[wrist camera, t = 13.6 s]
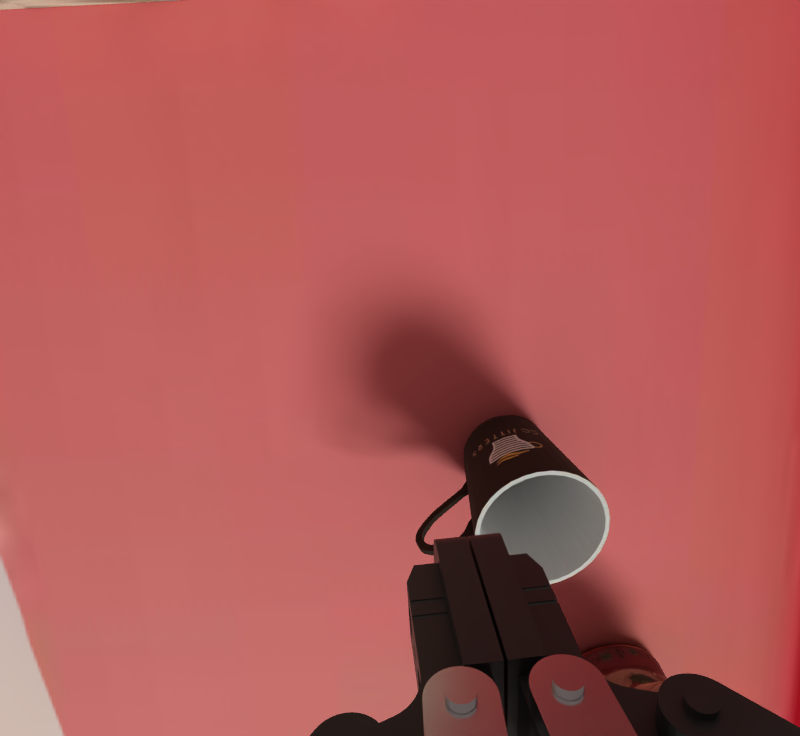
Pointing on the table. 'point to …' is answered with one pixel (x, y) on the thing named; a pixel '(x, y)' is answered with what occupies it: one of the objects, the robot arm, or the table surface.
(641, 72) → the table surface
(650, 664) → the decorative planter
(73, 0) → the board
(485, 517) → the coffee mug
